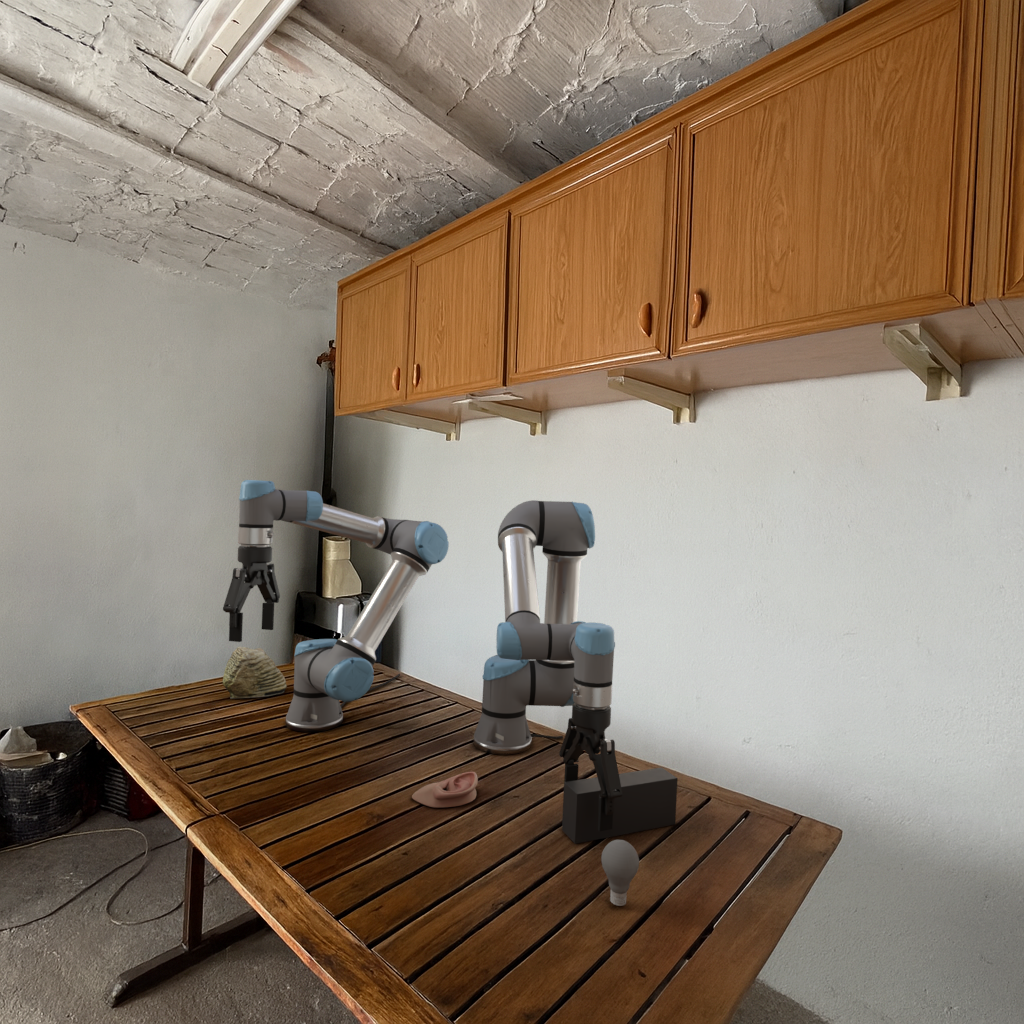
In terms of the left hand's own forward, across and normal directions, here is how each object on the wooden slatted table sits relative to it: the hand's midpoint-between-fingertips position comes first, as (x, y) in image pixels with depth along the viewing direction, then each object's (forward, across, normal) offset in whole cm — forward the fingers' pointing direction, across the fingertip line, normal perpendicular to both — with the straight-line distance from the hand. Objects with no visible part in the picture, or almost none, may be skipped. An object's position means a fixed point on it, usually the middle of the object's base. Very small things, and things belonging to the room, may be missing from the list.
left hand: (252, 635), depth 150 cm
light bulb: (+30, -36, -86) cm, 98 cm away
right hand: (+26, -15, -80) cm, 86 cm away
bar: (+30, -11, -87) cm, 93 cm away
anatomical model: (+30, -7, -50) cm, 59 cm away
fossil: (+30, +45, +25) cm, 59 cm away
